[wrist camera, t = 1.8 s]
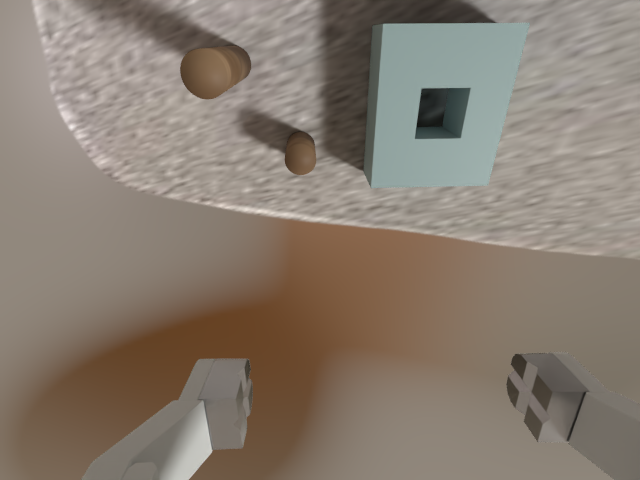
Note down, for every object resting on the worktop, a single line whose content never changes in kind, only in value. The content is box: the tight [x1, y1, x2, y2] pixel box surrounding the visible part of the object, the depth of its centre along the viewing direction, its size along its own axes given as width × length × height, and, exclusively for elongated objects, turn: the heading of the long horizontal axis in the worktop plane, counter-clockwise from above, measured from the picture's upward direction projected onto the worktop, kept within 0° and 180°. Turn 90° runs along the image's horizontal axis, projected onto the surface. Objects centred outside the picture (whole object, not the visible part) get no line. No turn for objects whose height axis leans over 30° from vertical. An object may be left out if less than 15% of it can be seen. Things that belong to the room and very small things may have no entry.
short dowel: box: [285, 132, 316, 175], centre depth 35 cm, size 3×3×5 cm
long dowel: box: [180, 45, 251, 99], centre depth 28 cm, size 3×3×12 cm
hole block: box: [364, 23, 530, 188], centre depth 33 cm, size 14×12×5 cm
